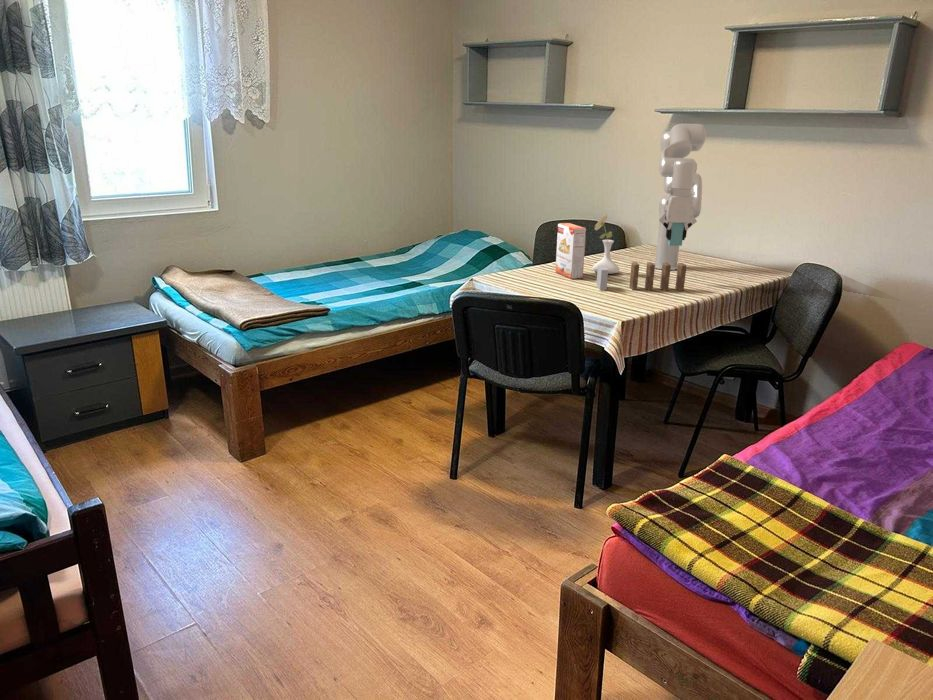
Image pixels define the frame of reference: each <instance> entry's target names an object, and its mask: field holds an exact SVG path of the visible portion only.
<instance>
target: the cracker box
mask: <svg viewBox="0 0 933 700" xmlns="http://www.w3.org/2000/svg"><path fill="white" fill-rule="evenodd" d="M586 235H587V228H586V227H584V226H580V225H577V224H573V223H571V222H560V223H558V224H557V236H556V254H555V257H556V258H555V273H557V274H559V275H561V276H563V277H564V278H568V279H570V280H576V279H577V278H579V279H583V278H584V267H585V266H584V264H585V254H586V253H585V251H586V249H585V248H586V239H587V238H586V237H587V236H586ZM577 280H578V279H577Z"/></svg>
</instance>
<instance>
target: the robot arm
mask: <svg viewBox="0 0 933 700" xmlns="http://www.w3.org/2000/svg"><path fill="white" fill-rule="evenodd" d="M706 139H707V130H706V128H705V125H703V124H700V123H678V124H675V125H673V126H672V128H671V129H670V130H668V131H665V132H664V133H663V132H662V134H661V137H660V152H661V153H660V156H659V159H658V171H659V175H660V176H661V177H663V189H664V192H665V193H666V194H667V195H664V196H662V197H661V198H660V199H659V203H658V212H659V218H658V232H657V233H658V234H657V240H656V241H657V243H656V249H655V250H656V252H655V261H654V262H652V263H653V264H654V265H655V269H656V268H657V270H661V269H662V264H663V263H668V264H670V265H671V268H670V271H676V270H675V269H677V268H678V263H679V252H680V246H669V245H668V241H669V240H671V232H672V230H671V226H672V224H673V223H684V230H683V238H682V241H685V240H686V238H687V231H689V229H690V228H691V227H692V226H694V225H695V224H696V223H697V219H696V218H698V217H699V216H700V215H701V212H702V197H703V195H702V194H703V180H702V176H701V175H700V173H697V170H698V164H697V162H696V160H695V159H694V158H689V157H688V156H689V155H690V153H691V152H699V151H700V150H701V149H702V148H703V146H704V144H705V143H706Z"/></svg>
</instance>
